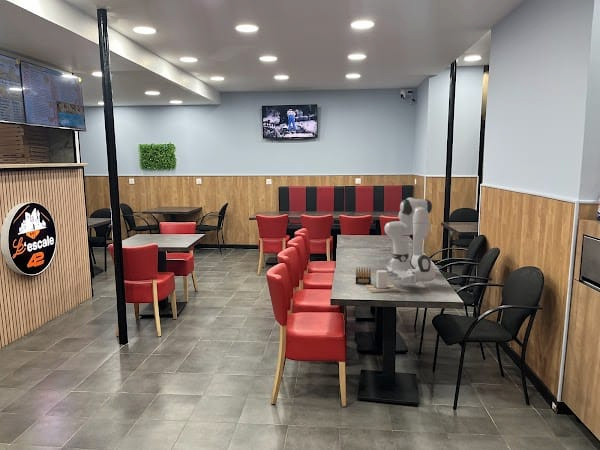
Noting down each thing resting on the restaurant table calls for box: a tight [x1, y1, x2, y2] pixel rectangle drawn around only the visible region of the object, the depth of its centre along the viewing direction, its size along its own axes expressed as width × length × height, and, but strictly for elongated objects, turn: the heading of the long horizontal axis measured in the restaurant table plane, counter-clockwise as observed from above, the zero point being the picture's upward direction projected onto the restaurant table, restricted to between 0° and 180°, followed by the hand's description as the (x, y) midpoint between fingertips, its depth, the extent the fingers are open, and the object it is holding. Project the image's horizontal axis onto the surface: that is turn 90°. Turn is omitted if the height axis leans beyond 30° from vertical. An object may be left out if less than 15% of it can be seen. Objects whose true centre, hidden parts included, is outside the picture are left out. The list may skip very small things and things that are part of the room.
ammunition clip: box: [355, 266, 372, 285], centre depth 309 cm, size 11×2×12 cm, turn 80°
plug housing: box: [375, 269, 388, 289], centre depth 296 cm, size 5×6×11 cm
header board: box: [364, 283, 399, 294], centre depth 297 cm, size 16×18×1 cm
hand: (391, 276), depth 297 cm, fingers open, 8 cm apart
